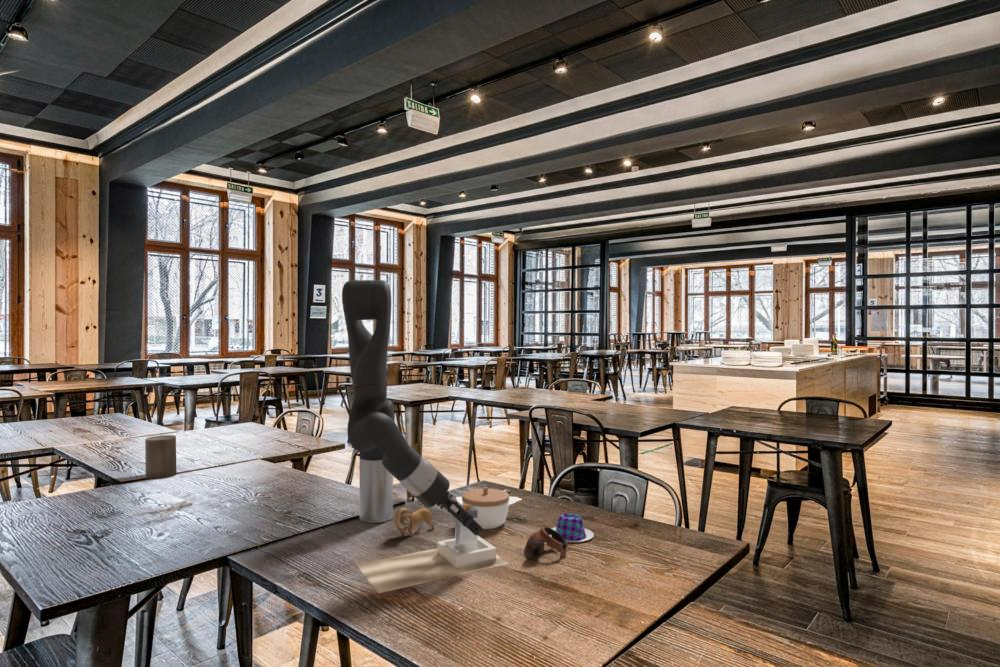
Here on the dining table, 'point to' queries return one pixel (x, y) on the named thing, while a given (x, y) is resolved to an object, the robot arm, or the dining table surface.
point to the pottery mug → (539, 537)
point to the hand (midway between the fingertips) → (472, 525)
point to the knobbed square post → (465, 533)
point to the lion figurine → (412, 520)
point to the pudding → (572, 528)
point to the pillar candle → (160, 456)
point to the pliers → (171, 510)
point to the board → (414, 570)
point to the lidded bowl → (488, 506)
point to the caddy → (466, 554)
